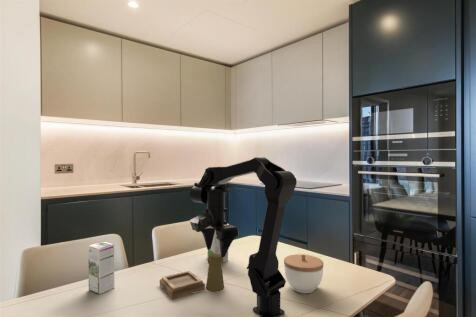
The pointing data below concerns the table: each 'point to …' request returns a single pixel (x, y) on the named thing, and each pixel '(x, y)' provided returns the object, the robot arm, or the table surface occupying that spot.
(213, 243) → the skincare box
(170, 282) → the square wooden tray
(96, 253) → the syrup box
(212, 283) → the olive pear-shaped figure
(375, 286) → the table surface
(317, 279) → the lidded bowl
